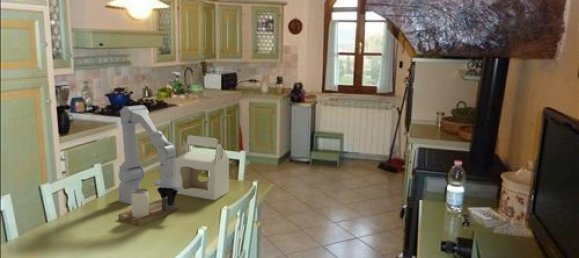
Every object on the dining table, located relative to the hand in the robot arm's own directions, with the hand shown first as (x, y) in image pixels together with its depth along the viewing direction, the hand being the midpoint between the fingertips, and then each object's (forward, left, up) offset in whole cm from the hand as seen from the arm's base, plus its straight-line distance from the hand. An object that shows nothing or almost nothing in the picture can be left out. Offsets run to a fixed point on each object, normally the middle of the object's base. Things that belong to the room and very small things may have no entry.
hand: (168, 204), depth 189 cm
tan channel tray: (-5, -6, -4) cm, 9 cm away
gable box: (-6, +29, -4) cm, 30 cm away
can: (-4, -11, -4) cm, 13 cm away
